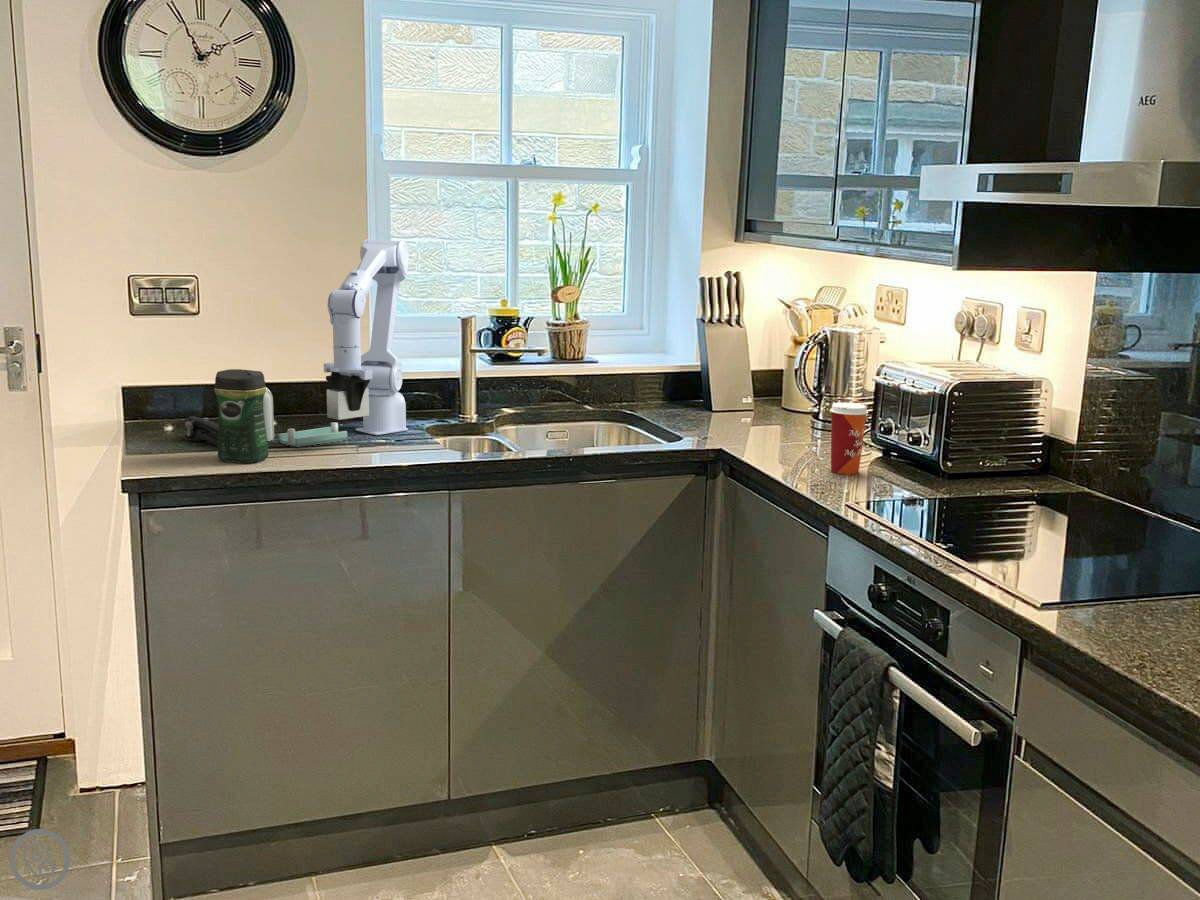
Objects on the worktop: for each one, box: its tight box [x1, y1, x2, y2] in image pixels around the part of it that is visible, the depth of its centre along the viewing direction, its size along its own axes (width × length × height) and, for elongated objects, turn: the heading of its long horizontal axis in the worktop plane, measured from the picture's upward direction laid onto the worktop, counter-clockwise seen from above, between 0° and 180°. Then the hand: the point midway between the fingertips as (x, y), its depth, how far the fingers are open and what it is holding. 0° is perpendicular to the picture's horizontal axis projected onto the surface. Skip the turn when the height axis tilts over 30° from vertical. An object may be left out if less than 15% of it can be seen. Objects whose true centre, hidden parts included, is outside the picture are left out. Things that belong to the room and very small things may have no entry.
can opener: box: [184, 415, 219, 447], centre depth 251 cm, size 18×7×6 cm, turn 47°
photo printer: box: [263, 387, 275, 442], centre depth 257 cm, size 10×4×12 cm, turn 39°
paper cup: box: [829, 402, 869, 476], centre depth 239 cm, size 8×8×14 cm
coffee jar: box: [214, 368, 269, 464], centre depth 235 cm, size 10×8×19 cm
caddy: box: [278, 422, 349, 447], centre depth 256 cm, size 13×7×4 cm, turn 138°
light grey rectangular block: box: [326, 387, 369, 421], centre depth 250 cm, size 8×4×6 cm, turn 139°
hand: (348, 409), depth 250 cm, fingers closed on light grey rectangular block, 4 cm apart
